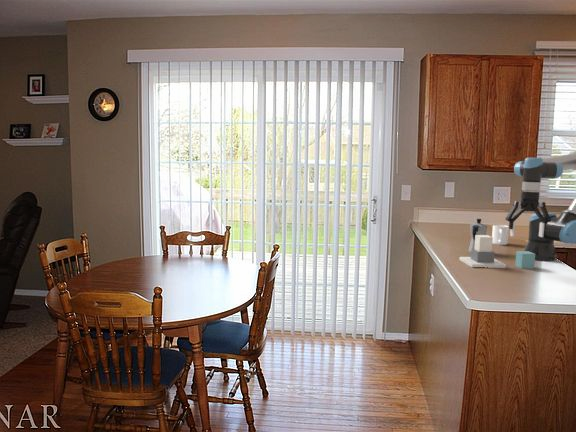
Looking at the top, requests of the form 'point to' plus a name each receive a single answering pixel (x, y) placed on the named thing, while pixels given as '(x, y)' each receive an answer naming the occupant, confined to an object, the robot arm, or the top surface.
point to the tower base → (490, 265)
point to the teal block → (525, 259)
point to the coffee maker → (476, 232)
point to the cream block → (483, 243)
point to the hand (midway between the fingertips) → (526, 236)
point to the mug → (500, 234)
